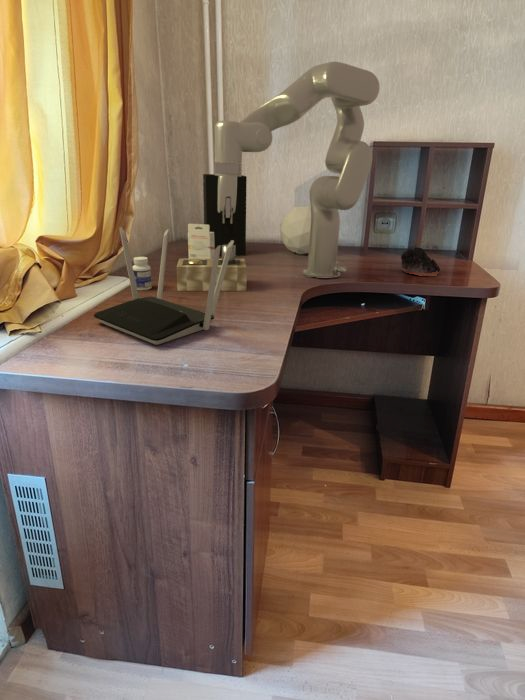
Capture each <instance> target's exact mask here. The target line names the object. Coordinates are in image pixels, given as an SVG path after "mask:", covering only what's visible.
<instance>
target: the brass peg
mask: <svg viewBox="0 0 525 700" xmlns="http://www.w3.org/2000/svg"><path fill="white" fill-rule="evenodd" d="M188 264H202V261H201V260H189V261H188Z"/></svg>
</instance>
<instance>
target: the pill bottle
mask: <svg viewBox="0 0 525 700" xmlns="http://www.w3.org/2000/svg"><path fill="white" fill-rule="evenodd" d="M148 263H149V260H148V257H146V256H135V257H133V264H134V265H132V267H133V272H134V277H135V281H136V286H137V290H138V291H148V290H150V289H152V288H153V286H152V284H153V283H152V269H151V268H152V267H151V266H150V265H149V264H148Z"/></svg>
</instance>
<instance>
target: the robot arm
mask: <svg viewBox="0 0 525 700" xmlns="http://www.w3.org/2000/svg"><path fill="white" fill-rule="evenodd" d="M379 93H380V81H379V80H378V76H376V75H375V74H374V73H373V72H372V71H369V70H367V69H364V68H361V67H357V66H354V65H351V64H347V63H344V62H340V61H329V62H325V63H324V62H323V63H321V64H317V65H314V66H312V67H310V68H309V69H308V70H307V71H305V72H304V73H303V74H302V75H300V77H298V78H297V79H296V80H294V82H292V83H291V84H290V85H289V86H287V87H286V88H285V89H284V90H283V91H282V92H280V93H279V94H277V95H276V96H273V97H272V98H271V99H270V100H268V101H267V102H265V103H263V104H262V105H260V106H259V107H257V108H256V109H254V110H253V111H252V112H251V113H249V114H248V115H247V116H245V117H244V118H243V119H242V120H241V121H235V120H219V121H217V122H216V123H215V125H214V174H215V175H217V176H218V212H219V213H220V211H223V212H222V213H223V223H222V238H232V237H233V223H232V215H233V213H235V208H236V197H237V176H238V177H240V176H242V175H243V174H242V172H243V169H242V167H243V165H242V163H243V153H261V152H264V151H266V150H268V149H269V147H270V146H271V145H272V142H273V133H272V132H273V131H275V130H277V129H279V128H283V127H285V126H289V125H291V124H293V123H295V122H297V121H299V120H300V119H302V117H303V116H305V115H306V114H307V113H308V112H309V111H311V110H312V109H313V108H314V107H315V106H316V105H318V104H319V103H320V102H321V101H322V100H323V99H326V98H330V99H331V103H332V105H333V107H334V110H335V113H336V118H337V120H336V126H335V129H334V132H333V136H332V139H331V141H330V143H329V147H328V149H327V152H326V156H325V159H324V162H325V163H324V164H325V167H326V169H327V170H328V171H329V172H331V173H334V174H339V176H335V175H322V176H320V177H318V178H316V179H314V181H313V182H312V183H311V185H310V188H309V203H310V205H309V206H310V207H311V226H310V240H309V254H308V255H307V257H308V258H307V268H305V269H303V270H302V275H303V274H304V275H303V276H305V275H306V276H305V277H307V276H310V277H309V278H311V277H334V276H338V275H339V274H340V275H341V274H345V275H346V274H348V267H347V266H340V262H339V261H338V249H339V248H338V247H339V237H340V228H341V217H340V211H347V210H351V209H352V208H354V207H355V205H356V204H357V203H358V201H359V200H360V197H361V194H362V192H363V189H364V186H365V184H366V181H367V179H368V176H369V173H370V171H371V168H372V164H373V152H372V148H371V146H370V145H369V143H367V142H365V141H364V140H363V141H362V140H361V139H362V136H363V133H364V130H365V129H364V127H365V120H364V115H363V112H362V108H361V107H363V106H368V105H370V104H372V103H373V102H374V101H376V99H377V98H378V96H379ZM339 210H340V211H339ZM230 211H231V212H230ZM232 212H233V213H232Z"/></svg>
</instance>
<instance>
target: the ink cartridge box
mask: <svg viewBox="0 0 525 700" xmlns="http://www.w3.org/2000/svg"><path fill="white" fill-rule="evenodd" d="M197 228H200V229H197ZM187 231H188V232H187V245H188V247H187V249H188V259H213V258H214V251H215V244H214V232H210V226H209V225H205V224H204V223H203V224H201V223H188V224H187Z"/></svg>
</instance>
